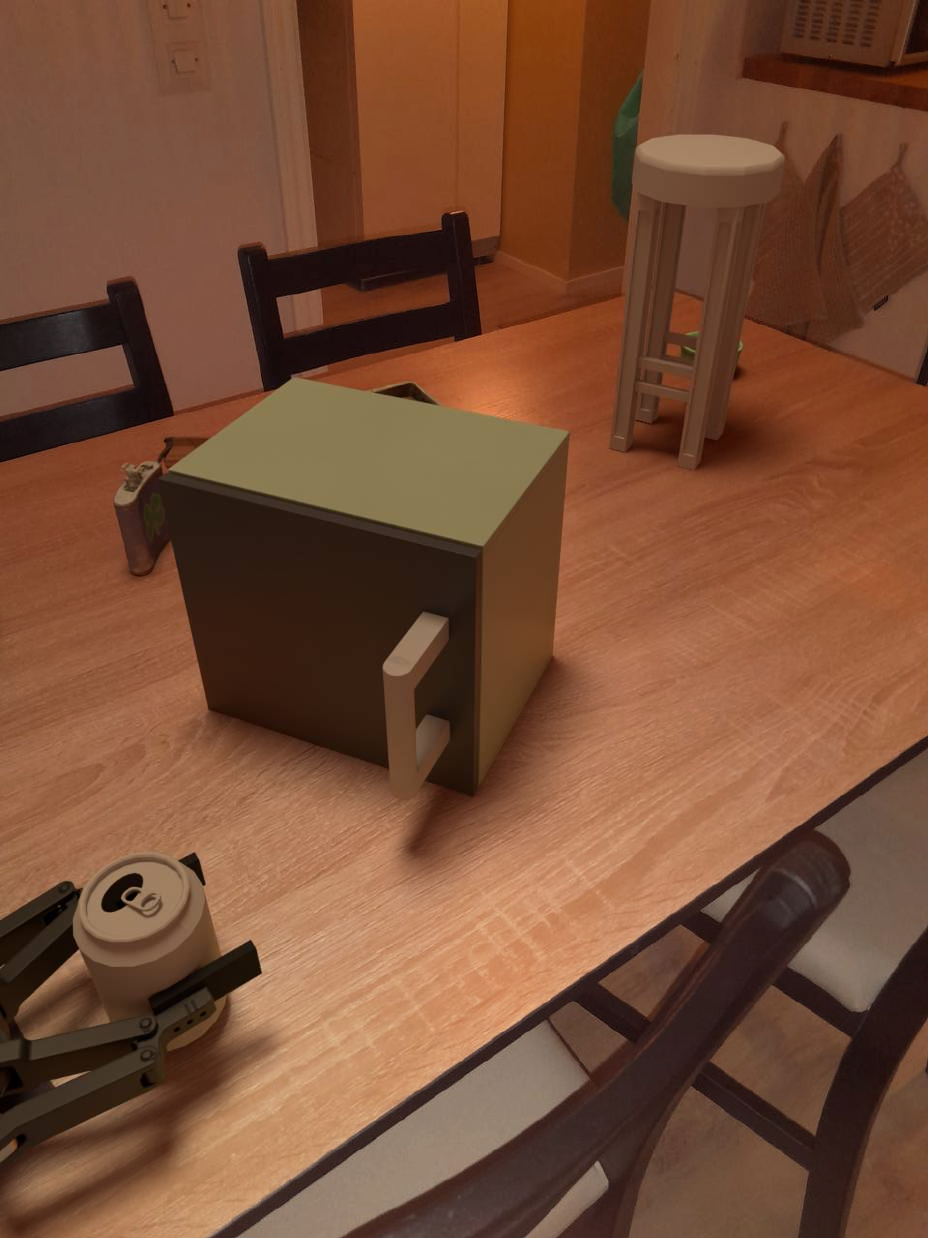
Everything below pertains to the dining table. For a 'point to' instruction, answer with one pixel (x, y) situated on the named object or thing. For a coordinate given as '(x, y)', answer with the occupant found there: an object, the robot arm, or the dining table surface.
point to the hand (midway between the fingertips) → (226, 911)
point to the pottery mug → (179, 448)
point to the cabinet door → (333, 629)
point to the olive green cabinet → (422, 504)
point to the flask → (142, 516)
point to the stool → (678, 178)
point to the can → (145, 934)
